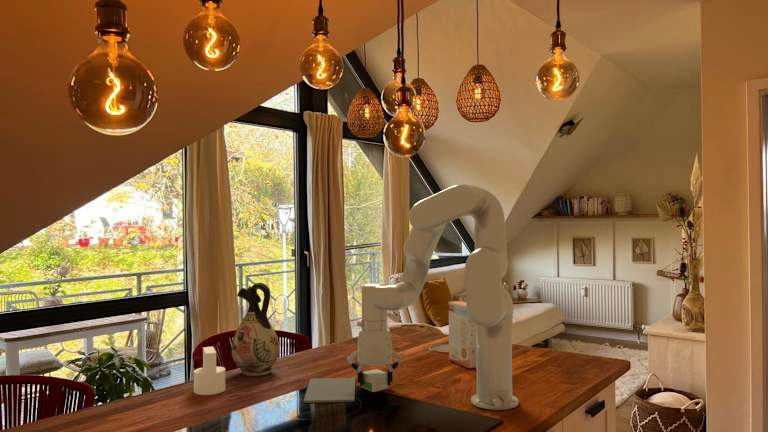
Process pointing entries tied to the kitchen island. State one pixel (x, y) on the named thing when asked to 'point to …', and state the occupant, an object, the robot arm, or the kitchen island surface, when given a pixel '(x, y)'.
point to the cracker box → (461, 335)
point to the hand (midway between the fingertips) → (375, 384)
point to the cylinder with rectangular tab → (209, 375)
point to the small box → (375, 380)
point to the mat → (330, 390)
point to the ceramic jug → (255, 335)
